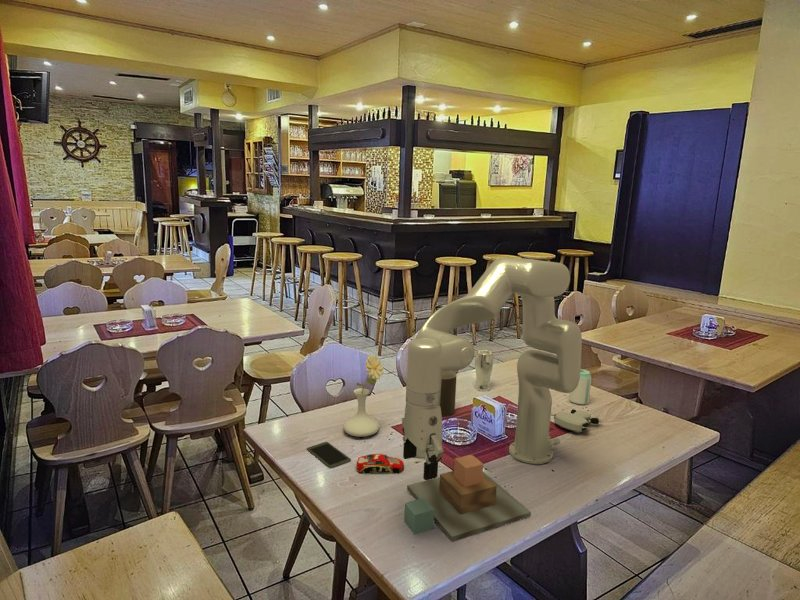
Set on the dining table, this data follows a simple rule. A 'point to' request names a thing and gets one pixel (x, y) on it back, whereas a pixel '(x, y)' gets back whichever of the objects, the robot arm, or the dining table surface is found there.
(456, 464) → the terracotta brick
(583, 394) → the can
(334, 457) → the cell phone
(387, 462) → the race car
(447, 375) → the pillar candle
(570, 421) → the robot toy
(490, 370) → the beer glass
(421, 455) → the ramekin
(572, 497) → the dining table surface
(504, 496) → the tower base
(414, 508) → the teal-grey brick
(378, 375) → the flower in vase
